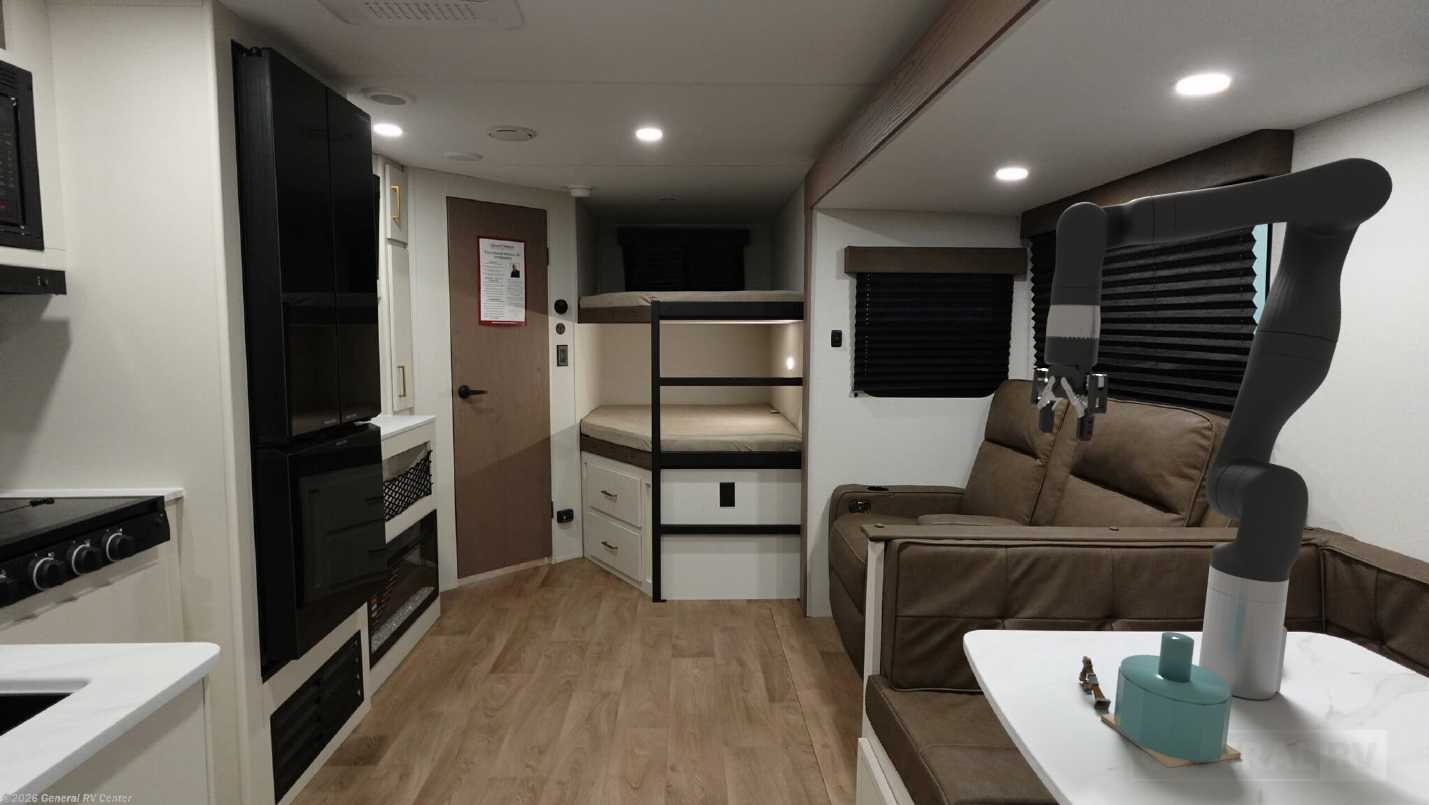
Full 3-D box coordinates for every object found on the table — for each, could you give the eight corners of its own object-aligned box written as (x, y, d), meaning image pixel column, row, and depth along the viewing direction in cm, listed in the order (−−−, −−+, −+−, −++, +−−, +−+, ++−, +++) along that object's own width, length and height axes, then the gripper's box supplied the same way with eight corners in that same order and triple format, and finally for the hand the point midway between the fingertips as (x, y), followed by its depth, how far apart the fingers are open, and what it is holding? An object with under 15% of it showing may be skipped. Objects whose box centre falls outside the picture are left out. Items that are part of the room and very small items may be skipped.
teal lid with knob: (1167, 705, 98) (1176, 616, 97) (1248, 755, 87) (1260, 655, 86) (1094, 713, 95) (1103, 621, 94) (1168, 766, 84) (1179, 663, 83)
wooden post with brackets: (1085, 674, 106) (1092, 653, 104) (1103, 722, 99) (1111, 700, 97) (1072, 673, 106) (1079, 652, 104) (1089, 721, 99) (1097, 699, 97)
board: (1167, 711, 98) (1167, 707, 98) (1240, 757, 87) (1240, 753, 87) (1100, 719, 95) (1101, 714, 95) (1168, 767, 85) (1168, 762, 85)
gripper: (1127, 336, 108) (1117, 443, 109) (1061, 334, 121) (1053, 429, 123) (1084, 335, 106) (1075, 444, 108) (1022, 333, 120) (1015, 430, 121)
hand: (1063, 436), depth 115 cm, fingers open, 8 cm apart
